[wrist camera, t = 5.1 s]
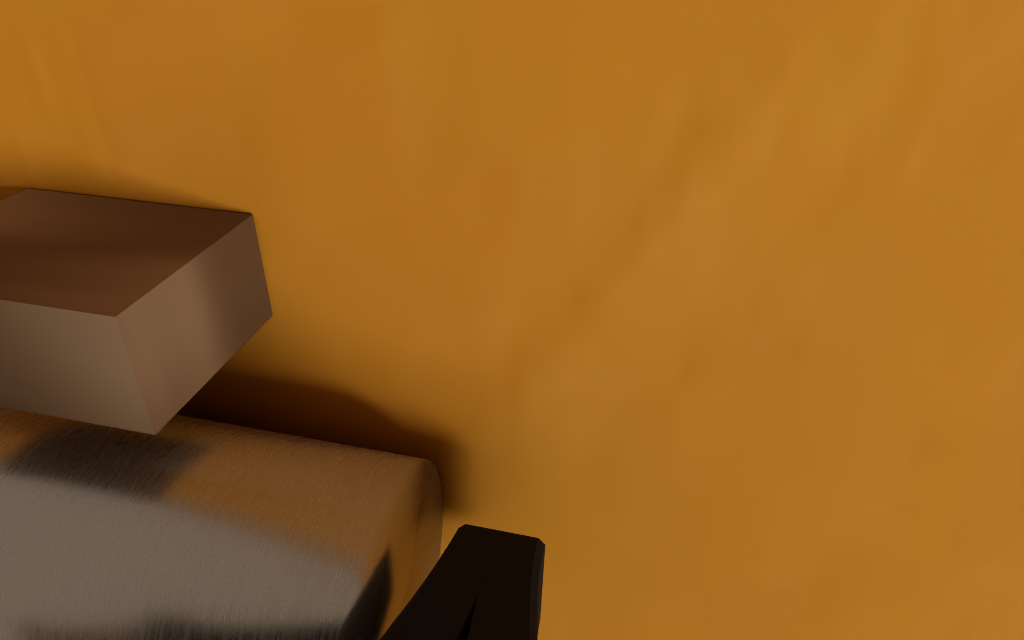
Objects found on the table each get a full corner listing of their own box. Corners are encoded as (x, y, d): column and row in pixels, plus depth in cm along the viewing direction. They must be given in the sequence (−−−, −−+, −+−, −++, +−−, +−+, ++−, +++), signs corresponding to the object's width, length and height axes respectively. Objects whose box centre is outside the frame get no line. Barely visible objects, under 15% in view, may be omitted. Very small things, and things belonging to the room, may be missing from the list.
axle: (426, 397, 11) (290, 727, 8) (451, 550, 14) (364, 829, 11) (-181, 299, 13) (-500, 522, 10) (-38, 452, 16) (-240, 659, 13)
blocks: (252, 214, 10) (115, 317, 8) (331, 614, 16) (262, 750, 13) (26, 187, 11) (-164, 274, 9) (174, 579, 16) (81, 703, 14)
